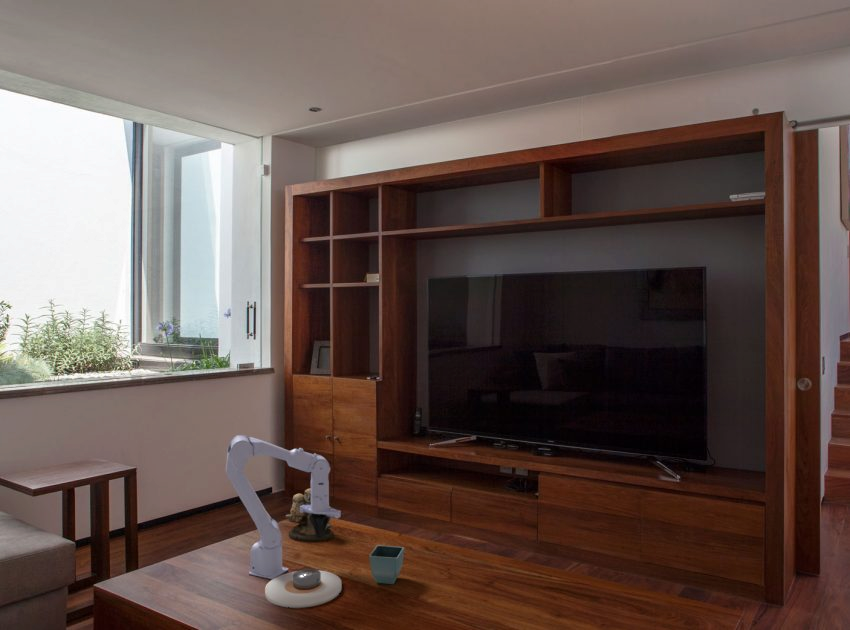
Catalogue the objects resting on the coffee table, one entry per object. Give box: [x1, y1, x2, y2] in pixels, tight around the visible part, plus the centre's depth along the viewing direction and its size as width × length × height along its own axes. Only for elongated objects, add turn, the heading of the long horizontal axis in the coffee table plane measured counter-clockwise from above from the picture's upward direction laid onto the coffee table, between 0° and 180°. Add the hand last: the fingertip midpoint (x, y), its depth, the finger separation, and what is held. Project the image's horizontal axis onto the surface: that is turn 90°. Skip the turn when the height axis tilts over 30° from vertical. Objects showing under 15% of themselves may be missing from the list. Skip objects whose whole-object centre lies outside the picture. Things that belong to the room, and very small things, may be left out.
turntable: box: [264, 569, 343, 609], centre depth 194 cm, size 22×22×2 cm
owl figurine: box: [285, 487, 335, 543], centre depth 239 cm, size 18×12×17 cm, turn 78°
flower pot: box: [369, 544, 405, 585], centre depth 200 cm, size 9×9×9 cm
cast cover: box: [293, 568, 321, 590], centre depth 194 cm, size 8×8×3 cm
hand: (320, 537), depth 211 cm, fingers closed
